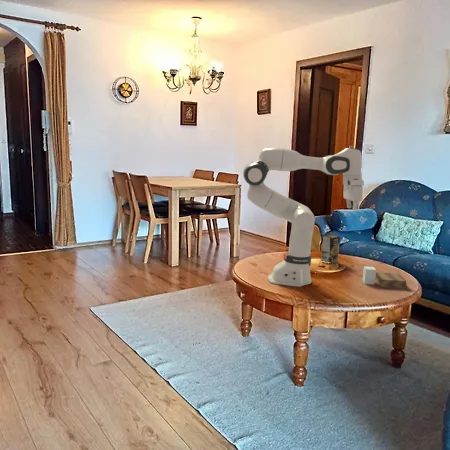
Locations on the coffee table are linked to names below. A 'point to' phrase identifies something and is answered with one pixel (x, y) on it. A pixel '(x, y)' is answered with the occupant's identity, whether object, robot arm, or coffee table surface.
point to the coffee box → (330, 248)
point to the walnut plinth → (390, 280)
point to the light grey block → (369, 275)
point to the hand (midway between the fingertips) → (351, 209)
